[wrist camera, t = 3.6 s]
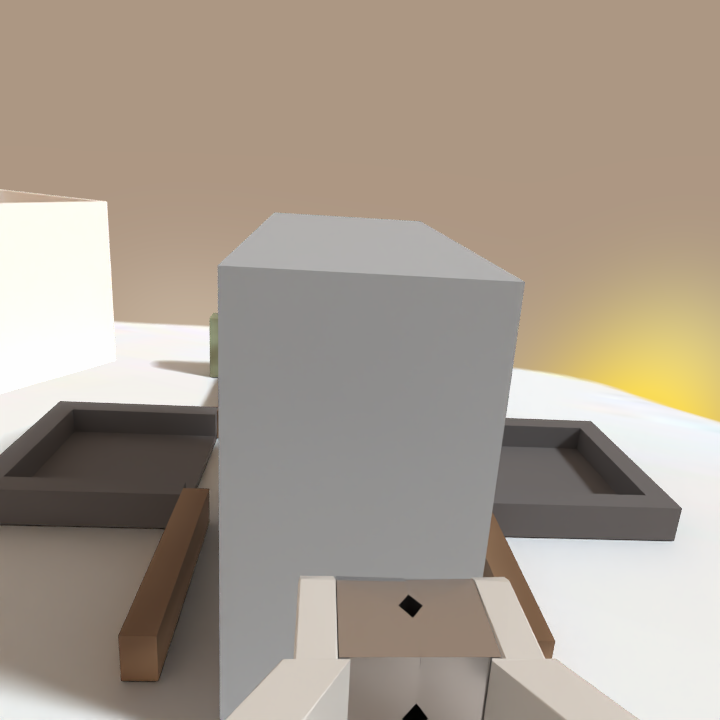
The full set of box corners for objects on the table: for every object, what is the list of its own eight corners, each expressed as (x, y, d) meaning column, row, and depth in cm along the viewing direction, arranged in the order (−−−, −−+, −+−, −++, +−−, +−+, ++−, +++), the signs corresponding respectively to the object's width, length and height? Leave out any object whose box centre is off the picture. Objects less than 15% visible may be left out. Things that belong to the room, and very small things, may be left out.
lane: (45, 680, 17) (32, 553, 16) (213, 369, 43) (213, 312, 41) (614, 684, 18) (641, 566, 17) (443, 379, 44) (449, 324, 43)
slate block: (220, 748, 15) (217, 265, 12) (268, 477, 29) (274, 212, 25) (458, 748, 16) (524, 282, 12) (397, 482, 29) (420, 221, 26)
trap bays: (-33, 523, 24) (-38, 488, 23) (62, 428, 32) (60, 401, 32) (674, 540, 26) (681, 508, 25) (586, 446, 34) (591, 421, 34)
